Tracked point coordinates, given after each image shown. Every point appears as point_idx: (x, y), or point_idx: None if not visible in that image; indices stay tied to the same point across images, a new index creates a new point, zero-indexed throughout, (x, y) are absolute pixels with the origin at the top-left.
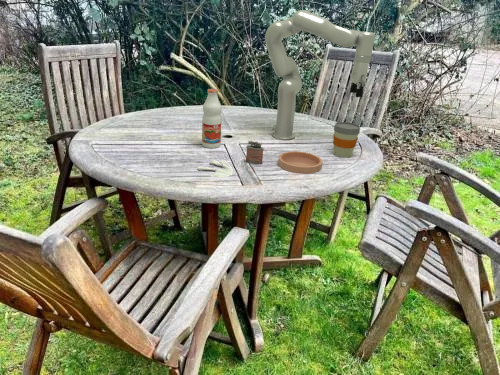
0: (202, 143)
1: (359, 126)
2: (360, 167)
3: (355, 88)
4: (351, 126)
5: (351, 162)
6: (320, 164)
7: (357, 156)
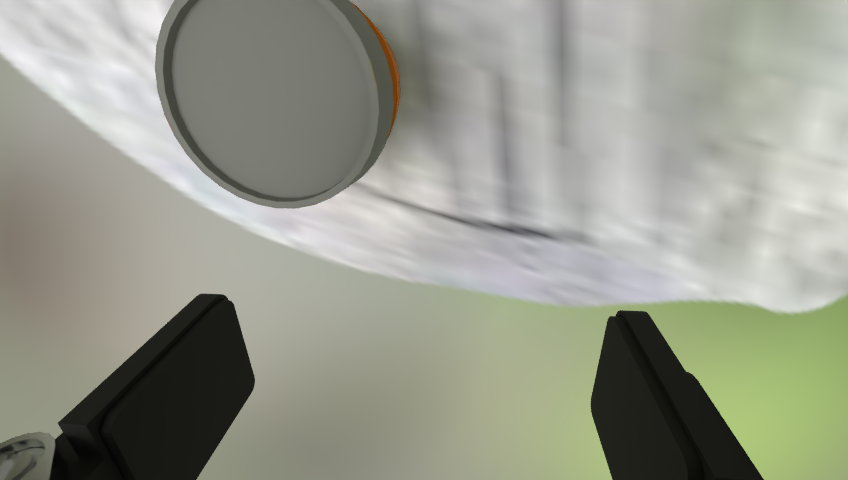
0: None
1: (274, 205)
2: None
3: (622, 468)
4: (298, 145)
5: None
6: None
7: None
